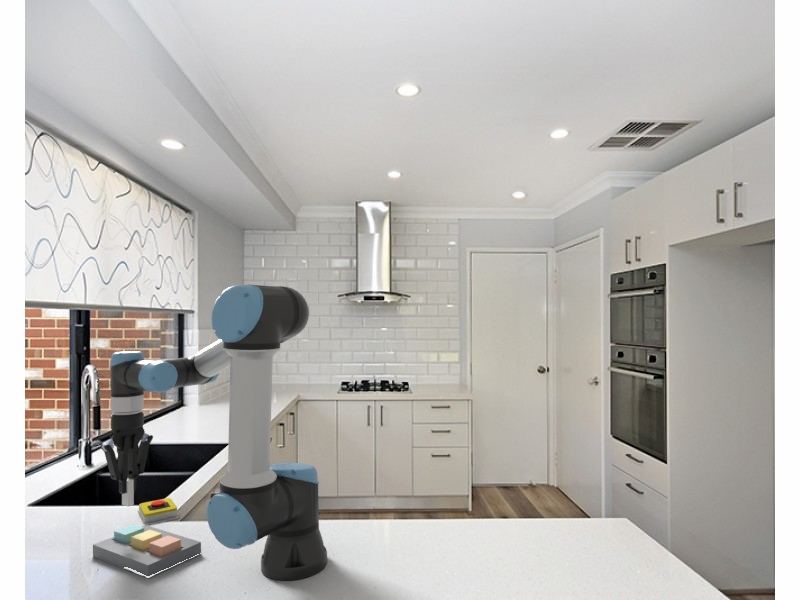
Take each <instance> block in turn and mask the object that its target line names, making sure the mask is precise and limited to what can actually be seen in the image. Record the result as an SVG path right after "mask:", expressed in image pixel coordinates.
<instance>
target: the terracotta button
mask: <svg viewBox="0 0 800 600" xmlns="http://www.w3.org/2000/svg"><path fill="white" fill-rule="evenodd" d="M180 549H181V539H178V538H175V537H172V536H165V537H163V538H160V539H158V540H155V541H153V542H150V543H149V553H151V554H154V555H156V556H159V557H163V556H166V555H168V554H170V553H173V552H175V551H177V550H180Z"/></svg>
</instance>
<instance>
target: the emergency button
mask: <svg viewBox="0 0 800 600" xmlns="http://www.w3.org/2000/svg"><path fill="white" fill-rule="evenodd" d="M137 514H138V515H139V517H140V519H141V521H142V523H143V526H145V525H147V526H150V525H154V524H160V523H164V522H169V521H174V520H177V519H179V515H178V507H177V504H175V502H174V501H173V499H172V498H170V497H166V498H162V499H157V500H152V501H151V500H150V501H145V502H142V503H139V506H138V510H137Z"/></svg>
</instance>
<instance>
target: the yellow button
mask: <svg viewBox="0 0 800 600" xmlns="http://www.w3.org/2000/svg"><path fill="white" fill-rule="evenodd" d="M160 538H162V533H159V532H156V531H153V530H148V531H145V532H143V533H140V534H137V535H135V536H132V537H131V547H134V548H137V549H139V550H142V551H143V550H145V549H148V548H149V543H150V542H153V541H155V540H158V539H160Z"/></svg>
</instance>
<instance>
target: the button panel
mask: <svg viewBox="0 0 800 600" xmlns="http://www.w3.org/2000/svg"><path fill="white" fill-rule="evenodd" d="M141 527H143V528H144V532H145V531H148V530H153V531H156V532H159V533H162V538H163V537H165V536H172V537H175V538H178V539H181V549H180V550H177V551H175V552H173V553H170V554H168V555H166V556H163V557H159V556H156V555H154V554H151V553H149V548H148V549H145V550H143V551H142V550H139V549H137V548H134V547H131V542H129V543H126V544H123V543H120V542H117V541H114V536H112V537H110V538H107V539H105V540H101V541H99V542H96V543H94V544H92V557H93V558H95V559H97V560H100V561H102V562H105V563H107V564H110V565H113V566H114V567H118V568H120V569H122V568H124V567H128V568H131V569H133V570H136V571H137V572H140V573H142V574H144V575H146V576H150V575H152V574H155V573H157V572H159V571H161V570H164V569H166V568H169V567H171V566H173V565H175V564H177V563H179V562H182V561H184V560H186V559H189V558H191V557H193V556H195V555H197V554H200V553H201V554H202V542H201V541H200V540H199V541H198V540H195V539H192V538H190V537H186V536H182V535H179V534H177V533H173V532H171V531H170V532H169V531H166V530H163V529H159V528H156V527H153V526H150V525H141Z"/></svg>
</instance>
